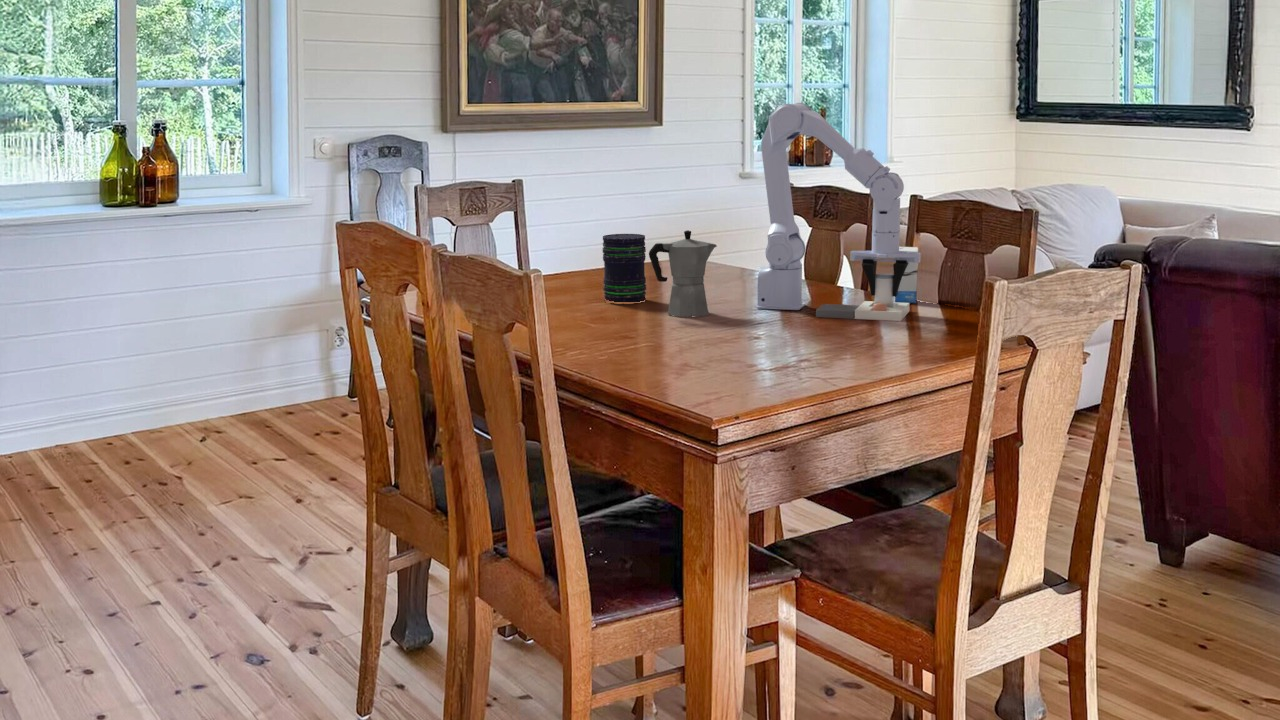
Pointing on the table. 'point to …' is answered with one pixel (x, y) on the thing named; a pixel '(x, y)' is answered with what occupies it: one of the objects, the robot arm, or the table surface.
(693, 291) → the coffeepot
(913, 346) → the table surface
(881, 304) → the peach rounded piece
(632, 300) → the storage jar
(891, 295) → the cylinder
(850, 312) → the pad
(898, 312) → the white plate with holes
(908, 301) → the ink box
